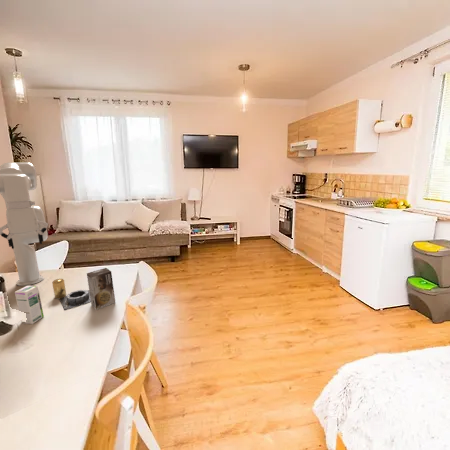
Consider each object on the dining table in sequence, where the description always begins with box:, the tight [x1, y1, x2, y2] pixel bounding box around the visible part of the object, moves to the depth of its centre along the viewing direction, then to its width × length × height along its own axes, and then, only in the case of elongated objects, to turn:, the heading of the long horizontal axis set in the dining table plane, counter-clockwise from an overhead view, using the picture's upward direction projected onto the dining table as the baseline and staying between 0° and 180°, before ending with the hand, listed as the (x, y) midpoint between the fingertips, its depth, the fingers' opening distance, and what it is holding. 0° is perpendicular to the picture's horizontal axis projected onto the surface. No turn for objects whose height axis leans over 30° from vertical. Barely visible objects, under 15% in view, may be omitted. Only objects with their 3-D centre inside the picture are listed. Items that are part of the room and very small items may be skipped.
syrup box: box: [14, 285, 45, 325], centre depth 113 cm, size 6×6×14 cm
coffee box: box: [86, 267, 116, 311], centre depth 125 cm, size 9×6×16 cm
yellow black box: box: [52, 278, 67, 300], centre depth 135 cm, size 5×5×8 cm
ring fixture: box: [59, 289, 91, 311], centre depth 132 cm, size 14×14×3 cm
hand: (27, 245), depth 114 cm, fingers open, 9 cm apart
